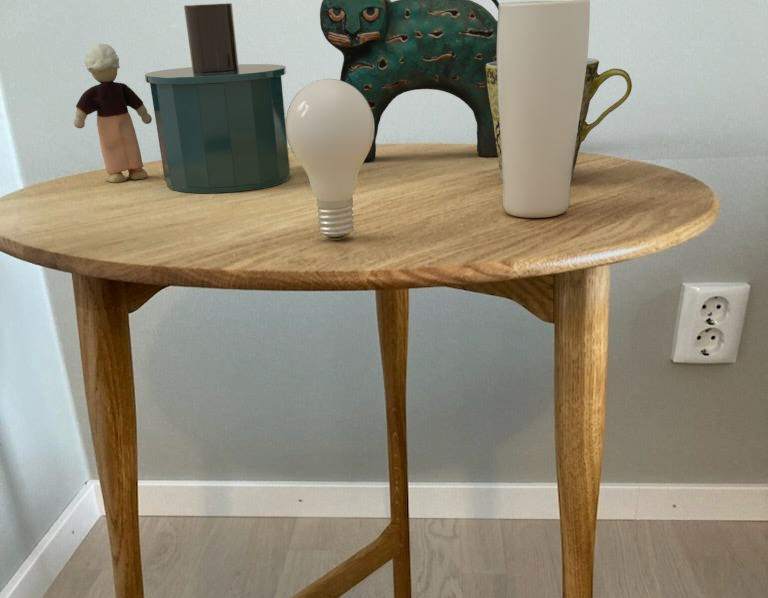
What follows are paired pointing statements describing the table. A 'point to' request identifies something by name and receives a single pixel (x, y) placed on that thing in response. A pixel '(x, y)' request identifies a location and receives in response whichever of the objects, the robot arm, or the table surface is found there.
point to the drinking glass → (540, 101)
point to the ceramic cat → (416, 53)
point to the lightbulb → (331, 147)
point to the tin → (222, 135)
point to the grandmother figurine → (112, 115)
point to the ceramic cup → (589, 90)
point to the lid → (213, 51)
